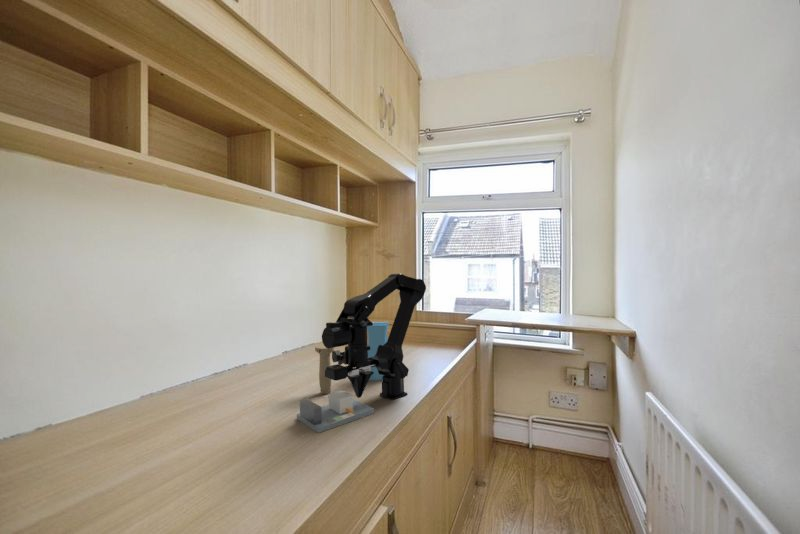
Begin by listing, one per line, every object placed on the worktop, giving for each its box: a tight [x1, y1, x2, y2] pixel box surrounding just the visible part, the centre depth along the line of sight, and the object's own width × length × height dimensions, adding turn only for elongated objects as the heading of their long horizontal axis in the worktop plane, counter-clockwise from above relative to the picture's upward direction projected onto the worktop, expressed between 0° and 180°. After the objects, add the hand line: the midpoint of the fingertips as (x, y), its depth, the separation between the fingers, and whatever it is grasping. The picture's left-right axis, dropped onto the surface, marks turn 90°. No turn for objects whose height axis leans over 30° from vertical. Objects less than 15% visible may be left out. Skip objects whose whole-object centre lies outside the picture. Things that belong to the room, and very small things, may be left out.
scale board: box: [296, 398, 375, 434], centre depth 93 cm, size 17×12×2 cm
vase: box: [367, 321, 390, 381], centre depth 129 cm, size 8×8×20 cm
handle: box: [314, 344, 335, 395], centre depth 113 cm, size 5×6×15 cm
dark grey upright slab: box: [299, 398, 322, 425], centre depth 88 cm, size 2×8×4 cm, turn 42°
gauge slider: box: [327, 390, 354, 414], centre depth 93 cm, size 4×9×4 cm, turn 42°
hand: (358, 397), depth 98 cm, fingers closed
